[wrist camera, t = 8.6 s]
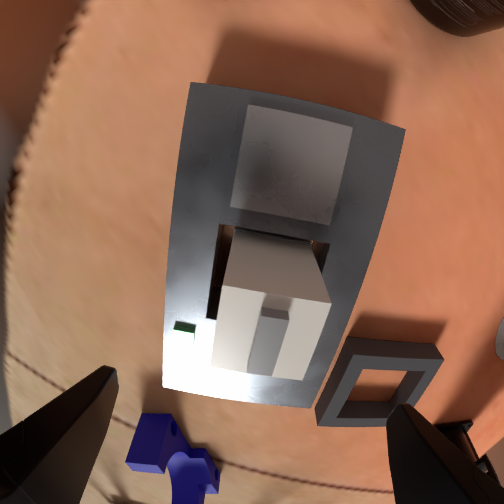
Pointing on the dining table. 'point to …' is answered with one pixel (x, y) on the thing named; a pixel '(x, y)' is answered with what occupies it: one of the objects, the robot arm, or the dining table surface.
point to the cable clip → (173, 459)
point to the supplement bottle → (463, 15)
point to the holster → (380, 358)
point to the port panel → (270, 220)
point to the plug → (269, 306)
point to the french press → (500, 341)
